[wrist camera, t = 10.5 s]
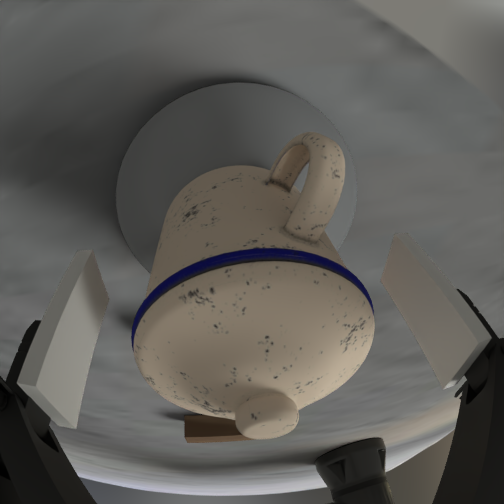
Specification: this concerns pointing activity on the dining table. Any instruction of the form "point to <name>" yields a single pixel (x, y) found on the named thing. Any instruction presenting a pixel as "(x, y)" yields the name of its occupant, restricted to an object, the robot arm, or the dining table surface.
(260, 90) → the grey flat disc
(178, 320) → the teacup with lid
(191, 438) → the walnut cradle
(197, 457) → the dining table surface
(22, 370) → the robot arm
